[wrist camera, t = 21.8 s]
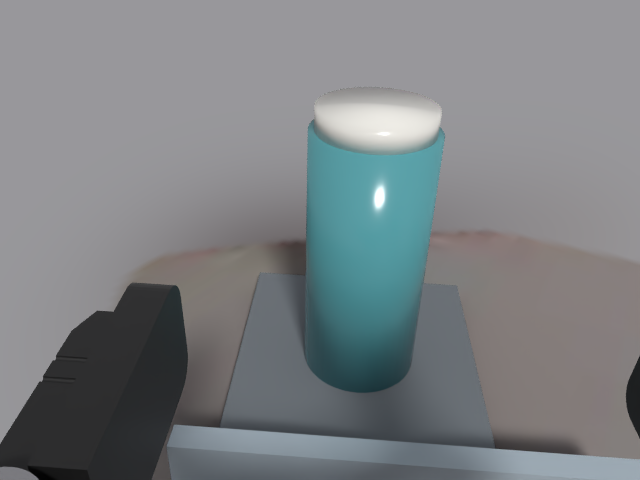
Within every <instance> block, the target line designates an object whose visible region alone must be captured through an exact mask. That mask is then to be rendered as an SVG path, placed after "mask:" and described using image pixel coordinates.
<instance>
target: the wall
mask: <svg viewBox="0 0 640 480" xmlns="http://www.w3.org/2000/svg"><path fill="white" fill-rule="evenodd" d="M167 453H168V460H169V466H170V473H171V479H172V480H640V460H637V459H623V458H610V457H597V456H584V455H570V454H557V453H544V452H531V451H518V450H504V449H491V448H478V447H465V446H451V445H438V444H425V443H412V442H398V441H385V440H372V439H359V438H345V437H332V436H319V435H306V434H293V433H279V432H266V431H253V430H240V429H226V428H213V427H200V426H187V425H174V427H173V430H172V432H171V435H170V438H169V441H168V444H167Z"/></svg>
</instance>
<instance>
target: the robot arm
mask: <svg viewBox="0 0 640 480" xmlns="http://www.w3.org/2000/svg"><path fill="white" fill-rule="evenodd" d="M187 363H188V353H187V344H186V336H185V328H184V320H183V312H182V304H181V296H180V291H179V289H178V287H177V286H176V285H161V284H146V283H131V284H130V285H129V286H128V287H127V289H126V291H125V292H124V294H123V296H122V298H121V300H120V301H119V303H118V305H117V307H116V308H115V310H114V312H109V311H96V312H95V313H94V314H93V315H91V316H90V317H89V318H87V319H86V320H85V321H83V322H82V323H81V324H80V325H79V326H77V327H76V328H75V329H73V330H72V331H71V333H70V334H69V336H68V337H67V339H66V341H65V342H64V344H63V346H62V347H61V349H60V350H59V352H58V353H57V355H56V360H55V361H52V363H51V364H50V366H49V368H48V369H47V371H46V373H45V374H44V376H43V381H42V382H39V383H38V385H37V387H36V388H35V390H34V391H33V393H32V394H31V396H30V398H29V399H28V401H27V402H26V404H25V406H24V407H23V409H22V410H21V412H20V413H19V415H18V417H17V418H16V420H15V421H14V423H13V425H12V426H11V428H10V429H9V431H8V433H7V434H6V436H5V437H4V439H3V440H2V442H1V444H0V480H151V479H152V476H153V474H154V471H155V468H156V465H157V462H158V459H159V456H160V453H161V451H162V448H163V445H164V442H165V439H166V436H167V433H168V430H169V428H170V425H171V422H172V419H173V416H174V413H175V410H176V407H177V404H178V402H179V399H180V396H181V393H182V390H183V387H184V383H185V379H186V373H187ZM626 403H627V409H628V413H629V417H630V419H631V421H632V423H633V425H634V427H635V430H636V432H637V434H638V436H639V438H640V357H639V359H638V361H637V363H636V365H635V368H634V370H633V372H632V374H631V376H630V379H629V381H628V385H627V390H626Z"/></svg>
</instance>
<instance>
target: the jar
mask: <svg viewBox="0 0 640 480" xmlns="http://www.w3.org/2000/svg"><path fill="white" fill-rule="evenodd" d="M441 114H442V110H441V107H440V106H439V105H438V104H437V103H436V102H435V101H433V100H431V99H429V98H427V97H425V96H422V95H419V94H416V93H413V92H408V91H403V90H397V89H391V88H379V87H357V88H347V89H340V90H336V91H332V92H329V93H327V94H324V95H322V96H321V97H319V98H318V99H317V100H316V101H315V110H314V120H312V121H311V123H310V124H309V126H308V153H307V154H308V158H307V160H308V161H307V224H306V226H307V227H306V230H307V231H306V293H305V359H306V362H307V364H308V366H309V368H310V370H311V371H312V372H313V373H314V374H315V375H316V376H317V377H318V378H319V379H320V380H322V381H323V382H325V383H326V384H328V385H330V386H332V387H335V388H338V389H341V390H344V391H349V392H357V393H368V392H376V391H381V390H384V389H387V388H389V387H392V386H394V385H395V384H397V383H399V382H400V381H401V380H402V379H403V378H404V377H405V376H406V375H407V373H408V372H409V370H410V367H411V364H412V358H413V351H414V344H415V338H416V331H417V324H418V317H419V310H420V303H421V297H422V290H423V283H424V276H425V269H426V262H427V256H428V249H429V242H430V235H431V228H432V220H433V214H434V208H435V201H436V194H437V187H438V180H439V173H440V167H441V160H442V153H443V146H444V139H445V134H444V132H443V130H442V129H441V128H440V122H441Z"/></svg>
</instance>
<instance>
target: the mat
mask: <svg viewBox="0 0 640 480" xmlns="http://www.w3.org/2000/svg"><path fill="white" fill-rule="evenodd" d="M305 293H306V275H291V274H276V273H261V272H260V275H259V279H258V283H257V287H256V290H255V294H254V298H253V302H252V305H251V309H250V313H249V317H248V321H247V324H246V328H245V332H244V336H243V340H242V343H241V347H240V351H239V355H238V358H237V362H236V366H235V370H234V374H233V377H232V381H231V385H230V389H229V393H228V396H227V400H226V404H225V408H224V411H223V415H222V419H221V423H220V427H219V428H226V429H240V430H253V431H266V432H279V433H293V434H306V435H319V436H332V437H345V438H359V439H372V440H385V441H398V442H412V443H425V444H438V445H451V446H465V447H478V448H491V449H496V448H495V444H494V440H493V436H492V431H491V427H490V423H489V419H488V415H487V410H486V406H485V402H484V398H483V394H482V389H481V385H480V381H479V377H478V373H477V368H476V364H475V360H474V356H473V352H472V347H471V343H470V339H469V335H468V331H467V326H466V322H465V318H464V314H463V310H462V306H461V301H460V297H459V293H458V289H457V286H456V285H441V284H426V283H423V290H422V297H421V303H420V310H419V317H418V324H417V331H416V338H415V344H414V351H413V358H412V364H411V367H410V370H409V372H408V373H407V375H406V376H405V377H404V378H403V379H402V380H401V381H400V382H399V383H397V384H395V385H394V386H392V387H389V388H387V389H384V390H381V391H376V392H368V393H357V392H349V391H344V390H341V389H338V388H335V387H332V386H330V385H328V384H326V383H325V382H323V381H322V380H320V379H319V378H318V377H317V376H316V375H315V374H314V373H313V372H312V371H311V370H310V368H309V366H308V364H307V362H306V359H305Z"/></svg>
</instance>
